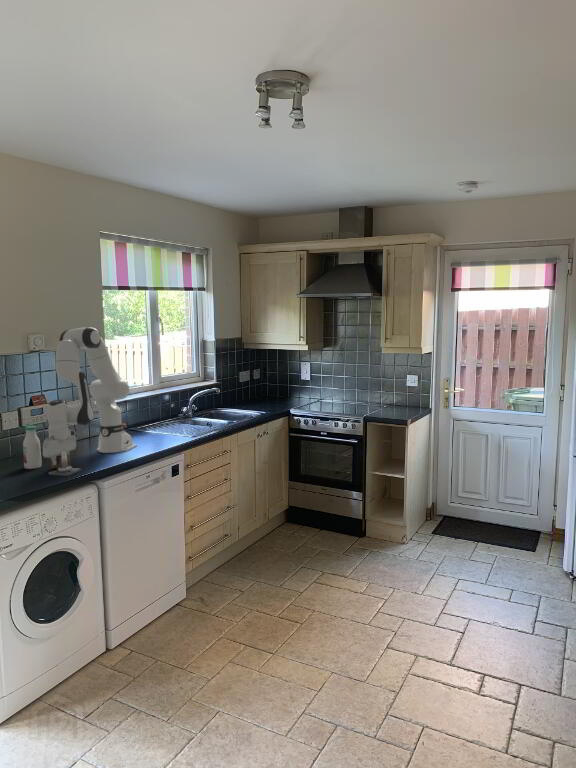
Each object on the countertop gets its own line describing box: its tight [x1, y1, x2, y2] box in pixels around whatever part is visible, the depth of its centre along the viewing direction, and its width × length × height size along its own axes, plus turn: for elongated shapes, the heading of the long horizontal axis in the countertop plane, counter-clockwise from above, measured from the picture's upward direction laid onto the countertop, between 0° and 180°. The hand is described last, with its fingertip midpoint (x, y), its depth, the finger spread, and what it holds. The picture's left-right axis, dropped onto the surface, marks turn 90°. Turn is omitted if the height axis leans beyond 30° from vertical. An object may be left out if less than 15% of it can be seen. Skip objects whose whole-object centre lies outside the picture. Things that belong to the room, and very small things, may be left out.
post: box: [48, 450, 82, 477], centre depth 263 cm, size 10×10×10 cm
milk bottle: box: [22, 425, 43, 470], centre depth 275 cm, size 8×8×20 cm
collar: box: [50, 454, 71, 469], centre depth 273 cm, size 6×6×5 cm
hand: (60, 462), depth 274 cm, fingers closed on collar, 6 cm apart
